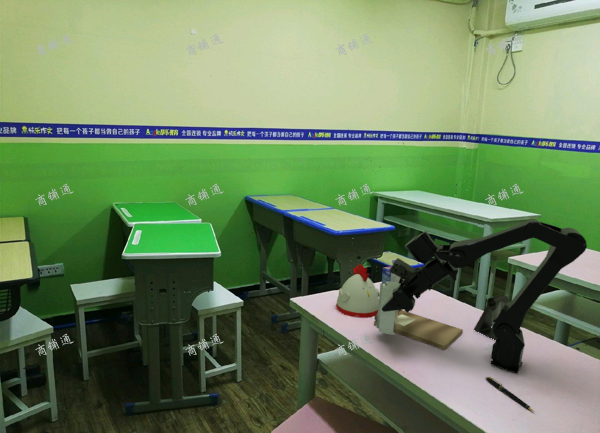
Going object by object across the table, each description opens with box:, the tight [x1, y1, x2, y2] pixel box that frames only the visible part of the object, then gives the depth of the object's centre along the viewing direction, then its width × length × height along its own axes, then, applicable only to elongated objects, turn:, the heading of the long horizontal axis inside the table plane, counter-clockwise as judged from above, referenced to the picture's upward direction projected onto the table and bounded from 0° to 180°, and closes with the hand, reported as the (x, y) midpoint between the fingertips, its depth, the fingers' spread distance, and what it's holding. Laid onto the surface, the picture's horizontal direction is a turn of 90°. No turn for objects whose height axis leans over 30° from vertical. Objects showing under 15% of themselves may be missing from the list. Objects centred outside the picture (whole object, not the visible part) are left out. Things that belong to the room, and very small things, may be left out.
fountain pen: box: [485, 376, 536, 413], centre depth 104 cm, size 14×1×2 cm, turn 23°
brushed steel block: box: [376, 281, 401, 336], centre depth 128 cm, size 5×6×13 cm
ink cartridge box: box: [381, 259, 404, 283], centre depth 155 cm, size 10×6×14 cm, turn 116°
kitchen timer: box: [335, 264, 380, 319], centre depth 147 cm, size 14×14×15 cm
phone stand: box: [473, 294, 510, 341], centre depth 134 cm, size 9×6×12 cm, turn 32°
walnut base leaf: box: [373, 310, 464, 351], centre depth 136 cm, size 22×14×4 cm, turn 51°
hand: (384, 306), depth 128 cm, fingers closed on brushed steel block, 6 cm apart
